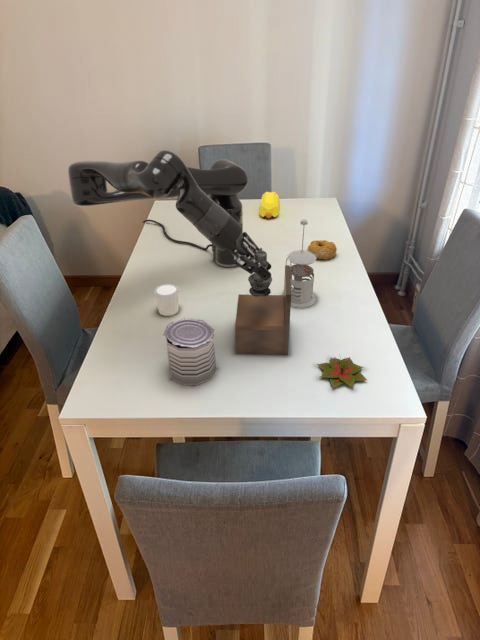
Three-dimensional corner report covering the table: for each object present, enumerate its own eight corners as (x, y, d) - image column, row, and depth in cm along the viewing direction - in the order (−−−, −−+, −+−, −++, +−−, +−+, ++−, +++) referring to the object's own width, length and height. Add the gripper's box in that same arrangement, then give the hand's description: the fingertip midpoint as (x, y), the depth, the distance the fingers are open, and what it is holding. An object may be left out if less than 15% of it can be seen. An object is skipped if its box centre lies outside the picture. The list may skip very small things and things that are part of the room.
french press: (294, 311, 139) (298, 230, 124) (273, 292, 147) (275, 214, 133) (322, 302, 142) (330, 222, 128) (300, 284, 151) (305, 207, 136)
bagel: (334, 247, 171) (336, 234, 168) (336, 262, 162) (338, 249, 159) (306, 246, 172) (307, 234, 169) (307, 261, 163) (308, 248, 160)
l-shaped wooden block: (235, 353, 123) (234, 293, 113) (239, 321, 135) (238, 264, 124) (288, 355, 122) (291, 294, 112) (286, 322, 134) (289, 265, 124)
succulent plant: (376, 385, 113) (379, 370, 110) (329, 396, 110) (331, 381, 108) (352, 354, 122) (354, 339, 120) (308, 363, 120) (309, 348, 117)
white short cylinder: (184, 306, 141) (182, 285, 137) (174, 319, 136) (172, 297, 132) (163, 302, 143) (160, 281, 139) (152, 314, 138) (149, 293, 134)
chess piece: (269, 298, 118) (271, 254, 111) (246, 296, 119) (246, 252, 112) (273, 286, 122) (275, 243, 115) (250, 284, 123) (250, 241, 116)
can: (172, 355, 123) (168, 316, 116) (217, 355, 123) (215, 316, 116) (165, 385, 114) (160, 345, 107) (214, 386, 113) (212, 345, 106)
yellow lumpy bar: (258, 220, 191) (278, 220, 191) (258, 204, 187) (278, 204, 187) (261, 203, 206) (279, 203, 205) (261, 187, 202) (280, 188, 201)
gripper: (209, 223, 118) (258, 268, 125) (202, 250, 107) (256, 298, 113) (230, 203, 115) (280, 250, 122) (226, 228, 104) (280, 279, 110)
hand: (268, 273), depth 117 cm, fingers closed on chess piece, 3 cm apart
